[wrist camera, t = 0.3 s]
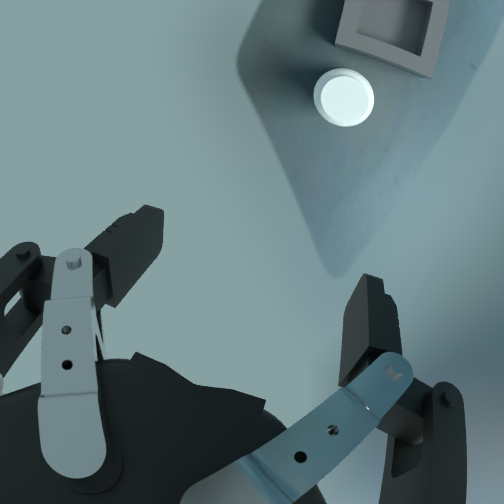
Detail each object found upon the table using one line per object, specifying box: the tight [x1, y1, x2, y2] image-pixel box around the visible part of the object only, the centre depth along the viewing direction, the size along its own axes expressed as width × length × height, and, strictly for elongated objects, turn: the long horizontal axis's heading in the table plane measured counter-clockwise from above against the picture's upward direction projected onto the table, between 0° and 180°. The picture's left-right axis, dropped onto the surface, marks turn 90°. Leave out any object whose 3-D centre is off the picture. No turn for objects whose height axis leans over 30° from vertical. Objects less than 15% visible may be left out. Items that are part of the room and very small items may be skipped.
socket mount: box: [335, 0, 450, 79], centre depth 22 cm, size 10×10×4 cm
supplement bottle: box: [313, 68, 374, 126], centre depth 26 cm, size 5×5×10 cm
